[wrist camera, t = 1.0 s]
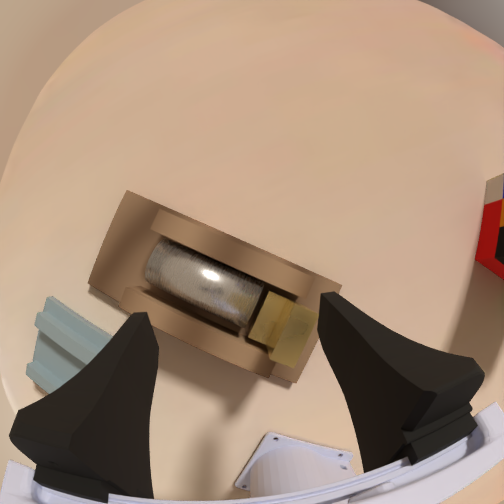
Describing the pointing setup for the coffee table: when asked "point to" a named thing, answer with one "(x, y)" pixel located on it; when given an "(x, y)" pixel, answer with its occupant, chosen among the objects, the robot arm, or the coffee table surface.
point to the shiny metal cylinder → (203, 282)
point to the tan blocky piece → (282, 327)
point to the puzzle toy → (492, 228)
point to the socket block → (183, 313)
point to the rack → (62, 345)
